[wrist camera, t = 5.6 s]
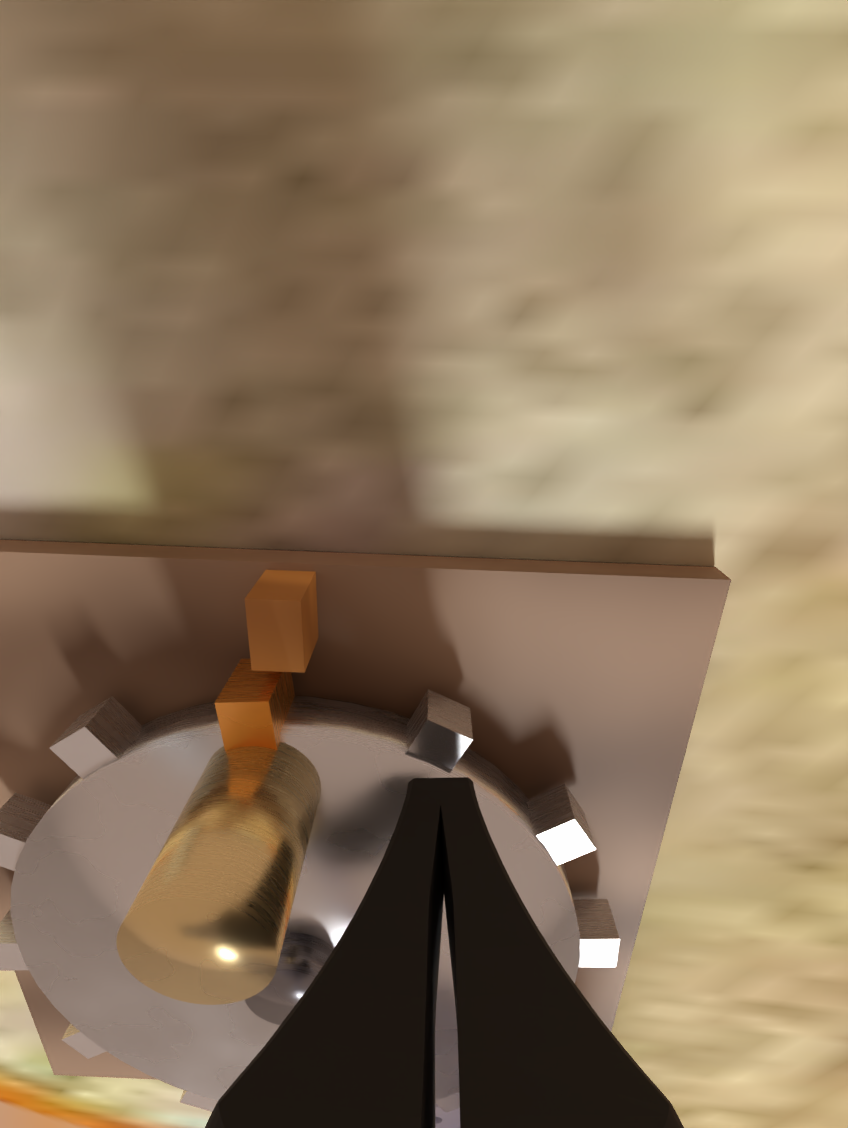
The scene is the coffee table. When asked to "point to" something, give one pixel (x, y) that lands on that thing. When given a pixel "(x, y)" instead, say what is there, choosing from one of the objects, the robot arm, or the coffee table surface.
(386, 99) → the coffee table surface
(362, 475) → the coffee table surface
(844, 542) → the coffee table surface
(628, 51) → the coffee table surface
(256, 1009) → the sprocket wheel
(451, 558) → the walnut board
